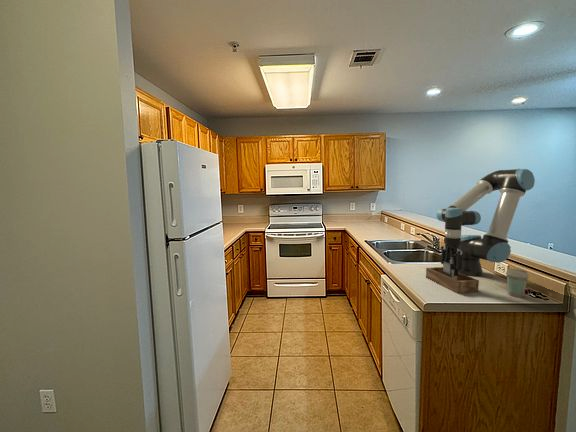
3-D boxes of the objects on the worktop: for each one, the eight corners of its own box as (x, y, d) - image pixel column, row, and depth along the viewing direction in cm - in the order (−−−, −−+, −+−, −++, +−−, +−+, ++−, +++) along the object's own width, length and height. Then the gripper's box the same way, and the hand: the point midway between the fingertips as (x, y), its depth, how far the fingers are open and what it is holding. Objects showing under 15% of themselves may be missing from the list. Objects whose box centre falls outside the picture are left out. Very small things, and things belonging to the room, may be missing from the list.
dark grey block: (450, 278, 154) (451, 260, 153) (457, 281, 149) (458, 263, 148) (442, 278, 153) (443, 261, 152) (449, 282, 148) (450, 263, 147)
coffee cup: (527, 300, 130) (529, 274, 129) (503, 295, 136) (505, 271, 134) (527, 294, 137) (529, 270, 135) (505, 290, 142) (506, 267, 141)
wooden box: (443, 276, 164) (443, 266, 164) (478, 292, 140) (478, 280, 140) (425, 278, 162) (426, 267, 162) (457, 293, 139) (458, 281, 138)
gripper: (434, 234, 157) (432, 274, 159) (459, 240, 139) (456, 285, 142) (446, 234, 158) (444, 274, 161) (472, 239, 140) (469, 284, 143)
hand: (450, 279), depth 151 cm, fingers closed on dark grey block, 5 cm apart
